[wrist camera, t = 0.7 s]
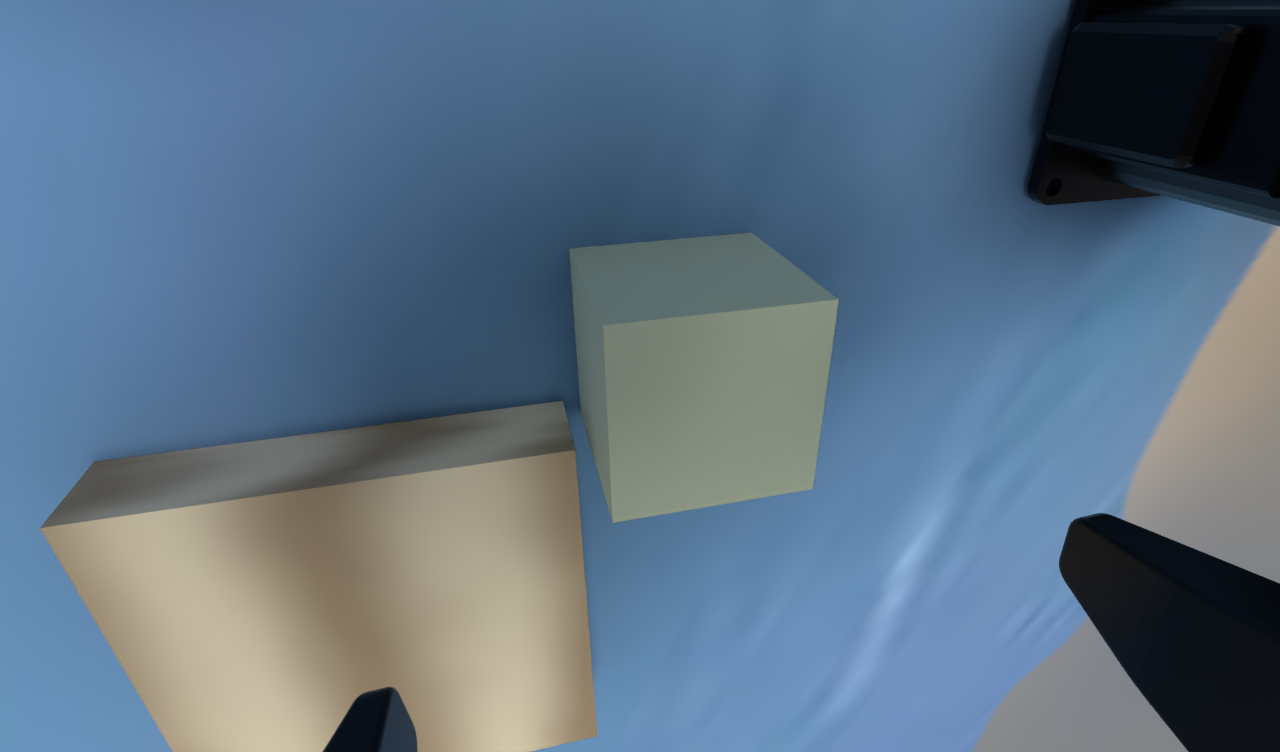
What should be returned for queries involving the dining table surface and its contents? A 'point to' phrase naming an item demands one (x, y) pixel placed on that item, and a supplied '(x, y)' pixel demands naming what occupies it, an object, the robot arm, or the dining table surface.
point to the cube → (699, 371)
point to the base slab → (346, 582)
